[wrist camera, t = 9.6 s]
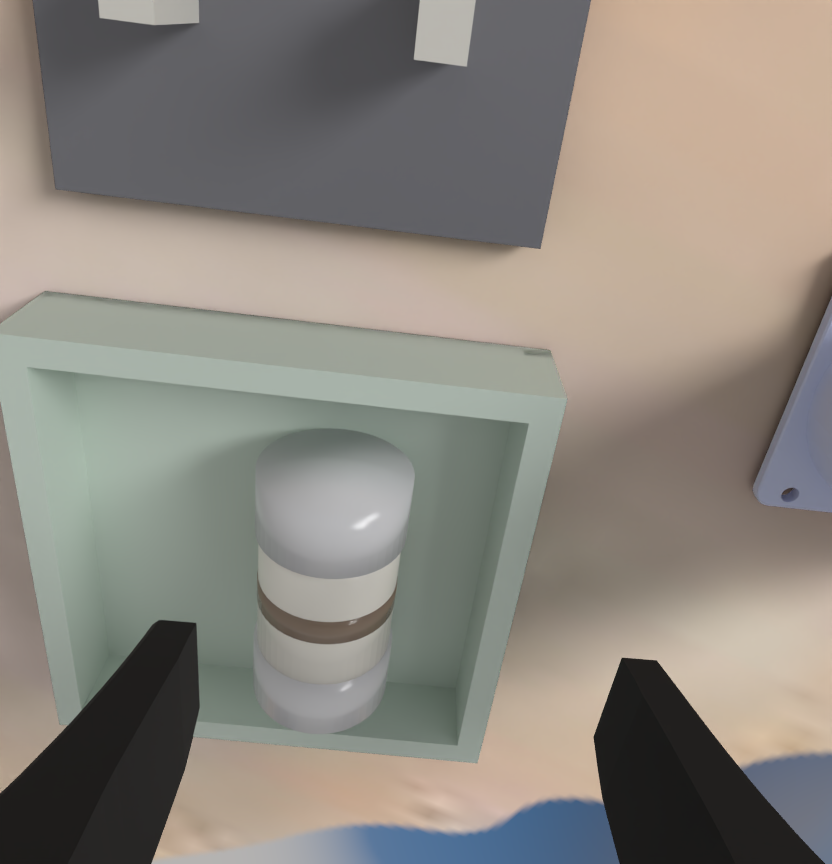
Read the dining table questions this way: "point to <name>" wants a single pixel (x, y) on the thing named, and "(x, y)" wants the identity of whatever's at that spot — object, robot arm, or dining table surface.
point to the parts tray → (235, 497)
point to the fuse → (327, 574)
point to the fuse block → (317, 107)
